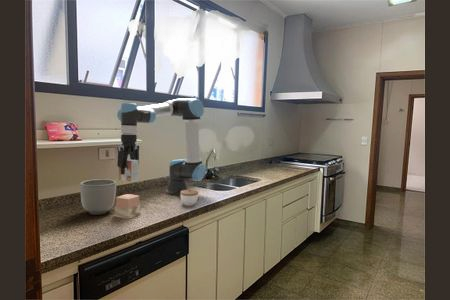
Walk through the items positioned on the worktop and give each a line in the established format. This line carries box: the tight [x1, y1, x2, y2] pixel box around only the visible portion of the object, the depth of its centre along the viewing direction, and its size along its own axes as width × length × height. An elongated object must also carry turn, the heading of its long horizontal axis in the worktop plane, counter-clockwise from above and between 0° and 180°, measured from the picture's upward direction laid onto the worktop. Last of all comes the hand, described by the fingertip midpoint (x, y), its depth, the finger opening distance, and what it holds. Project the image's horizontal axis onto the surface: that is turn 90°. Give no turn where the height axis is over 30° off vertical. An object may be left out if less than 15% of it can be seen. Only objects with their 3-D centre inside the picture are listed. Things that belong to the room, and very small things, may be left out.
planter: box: [79, 178, 117, 216], centre depth 147 cm, size 17×17×16 cm
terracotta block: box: [115, 193, 140, 209], centre depth 145 cm, size 8×8×5 cm
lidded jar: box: [180, 188, 199, 207], centre depth 169 cm, size 11×11×9 cm
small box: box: [118, 158, 140, 183], centre depth 143 cm, size 8×6×10 cm
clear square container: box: [114, 204, 142, 220], centre depth 145 cm, size 9×9×5 cm
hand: (128, 179), depth 143 cm, fingers closed on small box, 6 cm apart
